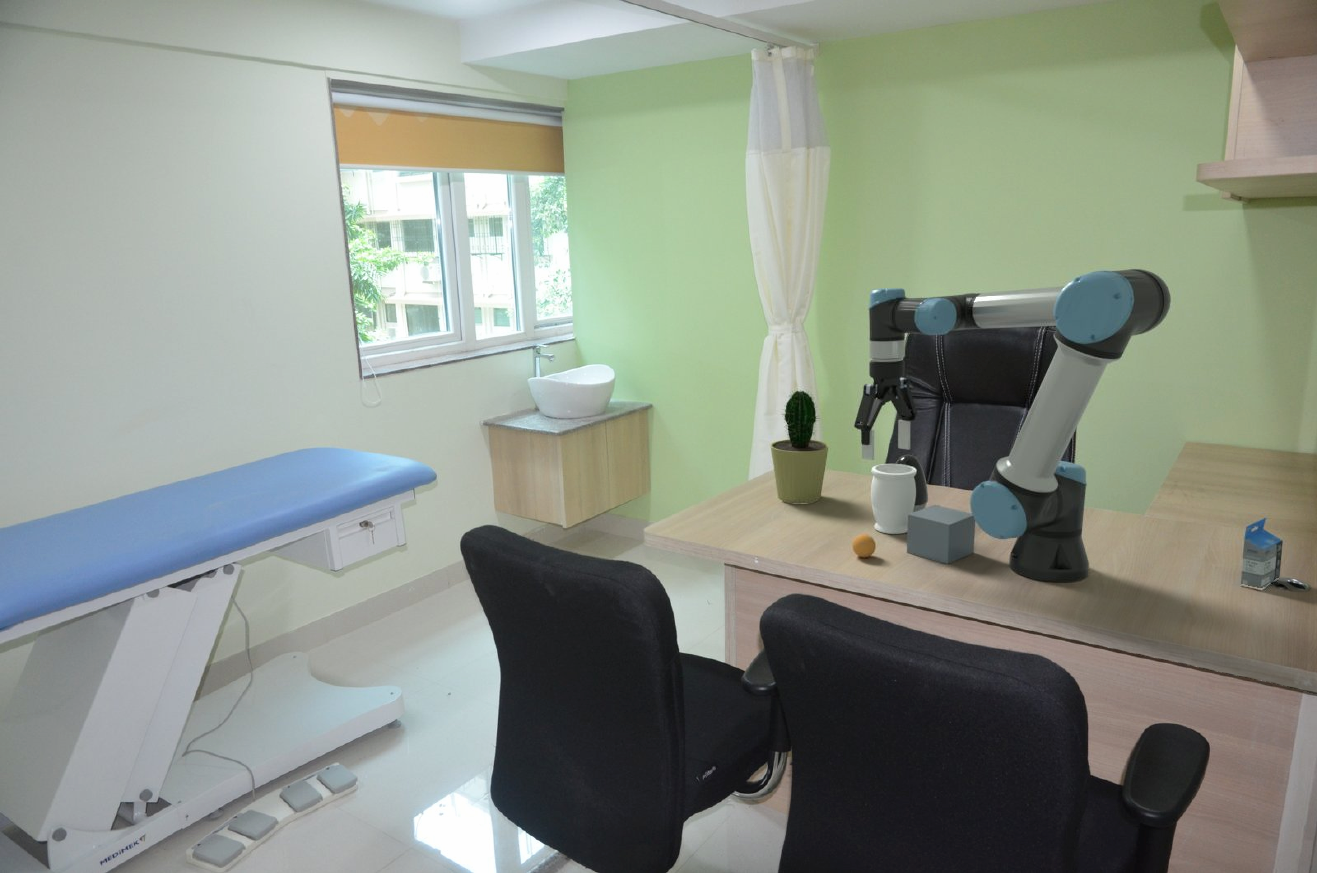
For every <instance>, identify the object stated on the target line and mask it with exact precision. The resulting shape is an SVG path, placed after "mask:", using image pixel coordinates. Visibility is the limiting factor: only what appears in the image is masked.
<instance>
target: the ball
mask: <svg viewBox="0 0 1317 873" xmlns="http://www.w3.org/2000/svg"><path fill="white" fill-rule="evenodd" d="M851 546H852V551H853V552H854V554H855V555H857V556H858V557H861V558H868V557H870V556H872V555H873V554H874V553H875V551H876V547H877V546H876V542H875V540H874V538H873V537H872V536H870V535H869V534H859V535H856V536H855V538H854V539H853V541H852V545H851Z"/></svg>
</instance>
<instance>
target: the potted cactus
mask: <svg viewBox="0 0 1317 873" xmlns="http://www.w3.org/2000/svg"><path fill="white" fill-rule="evenodd" d="M791 392H792V394H789V395H788V397H787V398H788V401H787V402H786V405H785V409H782V408H781V410H783V411H784V412H785V413H782V415H783V420H784V422H785V423H786V425H785V426H784V427H783V428H785V429H786V431H787V433H786V435H787V436H788V438H787V439H781V440H777V441H773V442H772V443H770V445H769V446H770V452H771V456H772V457H771V458H772V465H773V471H774V472H773V473H774V478H775V485H776V486H775V487H776V492H777V498H778V500H779V499H780V500H782V501H784V502H783V503H785V502H787V503H786V504H790V503H810V504H814V503H813V502H815V503H817V502H819V501H820V500H821V497H822V490H823V486H824V485H823V483H824V479H825V478H824V477H825V472H826V466H827V458H828V453H829V447H830V446H829V444H828V443H827V442H824V441H821V440H815V439H812V438H813V437H812V436H813V434H816V432H817V430H815V429H814V428H816V426H815V425H817V424H816V422H818V420H820V418H819V414H818V413H817V412H818V410H817V408H818V406H819V405H818V404H816V402H815V401H814V400H815V397H814V396H813V394H812V393H810V394H809V392H805V391H804V390H799V391H798V390H797V391H795V389H794V391H793V390H791ZM817 414H818V415H817ZM819 499H820V500H819ZM780 500H779V501H780ZM818 500H819V501H818ZM782 501H781V502H782ZM816 501H817V502H816Z"/></svg>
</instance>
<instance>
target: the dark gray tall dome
mask: <svg viewBox="0 0 1317 873" xmlns="http://www.w3.org/2000/svg"><path fill="white" fill-rule="evenodd" d="M895 464H902V465H907V466H911V467H914V468H915V469H916V475H915V476H914V479H915V485H916V498H915V504H914V508H913V512H916V511H919V510H922V509H925V508H926V506H927V503H928V502H929V492H928V485H927V480H926V475H925V472H924V469H923V466H922V465H921V462H920V461H919V459H918V458H917V454H915V453H912V455H911V454H904V455H902V456H900V457H899V458H898V459H897V461H896V462H895Z"/></svg>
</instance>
